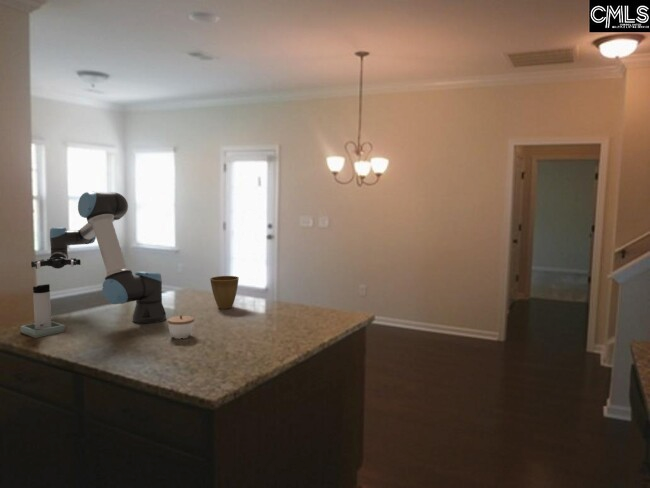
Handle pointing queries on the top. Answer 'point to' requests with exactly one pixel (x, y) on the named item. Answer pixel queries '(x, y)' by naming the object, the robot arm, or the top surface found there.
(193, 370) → the top surface
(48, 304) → the travel mug
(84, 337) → the top surface
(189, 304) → the top surface
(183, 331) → the lidded jar
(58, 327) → the tray
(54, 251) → the robot arm
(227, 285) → the plant pot
